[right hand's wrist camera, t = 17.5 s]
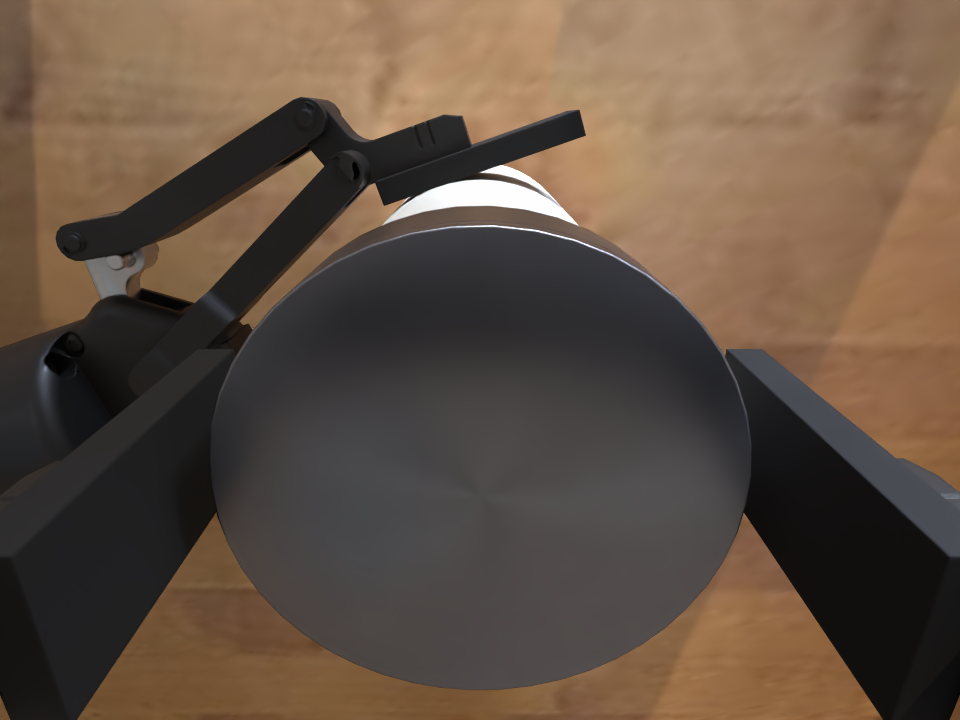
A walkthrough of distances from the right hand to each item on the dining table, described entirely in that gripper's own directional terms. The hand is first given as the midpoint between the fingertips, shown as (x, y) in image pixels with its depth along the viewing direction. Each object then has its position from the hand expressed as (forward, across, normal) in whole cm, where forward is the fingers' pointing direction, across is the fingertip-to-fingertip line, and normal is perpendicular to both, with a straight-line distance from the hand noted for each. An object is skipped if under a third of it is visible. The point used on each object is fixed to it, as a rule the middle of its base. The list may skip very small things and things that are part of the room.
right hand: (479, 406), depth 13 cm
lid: (-3, 0, 0) cm, 3 cm away
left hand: (+9, -4, -2) cm, 10 cm away
